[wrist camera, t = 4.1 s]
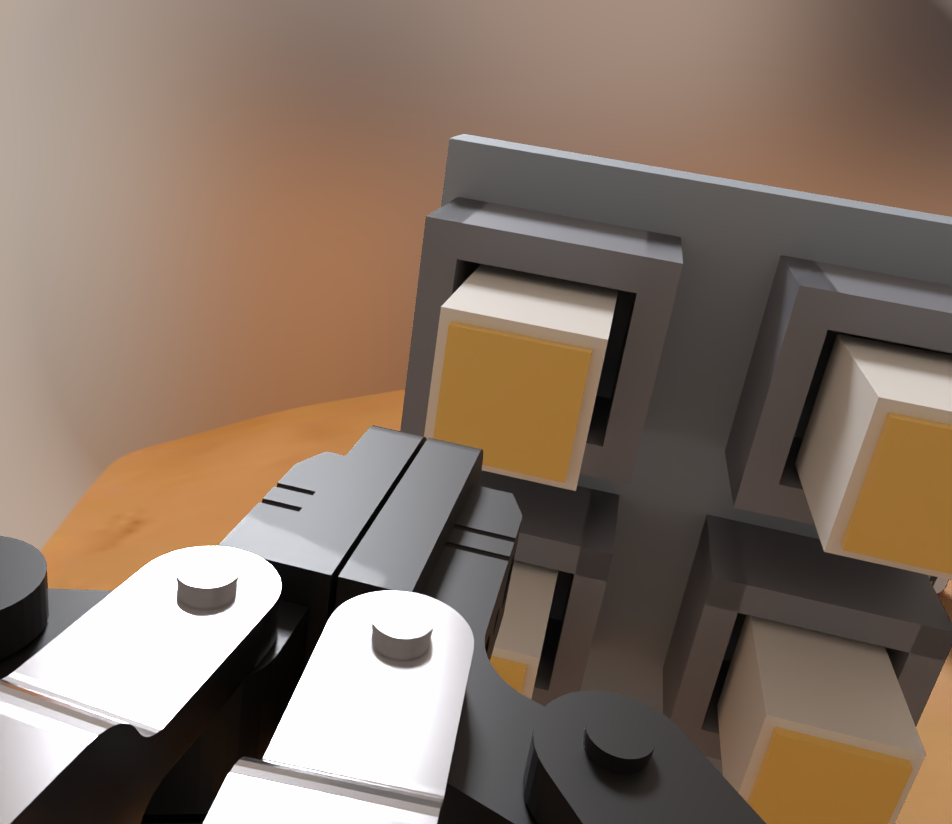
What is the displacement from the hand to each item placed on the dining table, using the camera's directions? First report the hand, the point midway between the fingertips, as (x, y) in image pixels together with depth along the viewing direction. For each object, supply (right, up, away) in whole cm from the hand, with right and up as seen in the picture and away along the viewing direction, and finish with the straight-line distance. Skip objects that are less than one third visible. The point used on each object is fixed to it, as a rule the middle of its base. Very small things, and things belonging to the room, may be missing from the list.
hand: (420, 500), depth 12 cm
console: (+6, -14, +24) cm, 28 cm away
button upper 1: (+2, 0, +12) cm, 12 cm away
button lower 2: (+10, -10, +14) cm, 20 cm away
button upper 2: (+11, -2, +11) cm, 16 cm away
